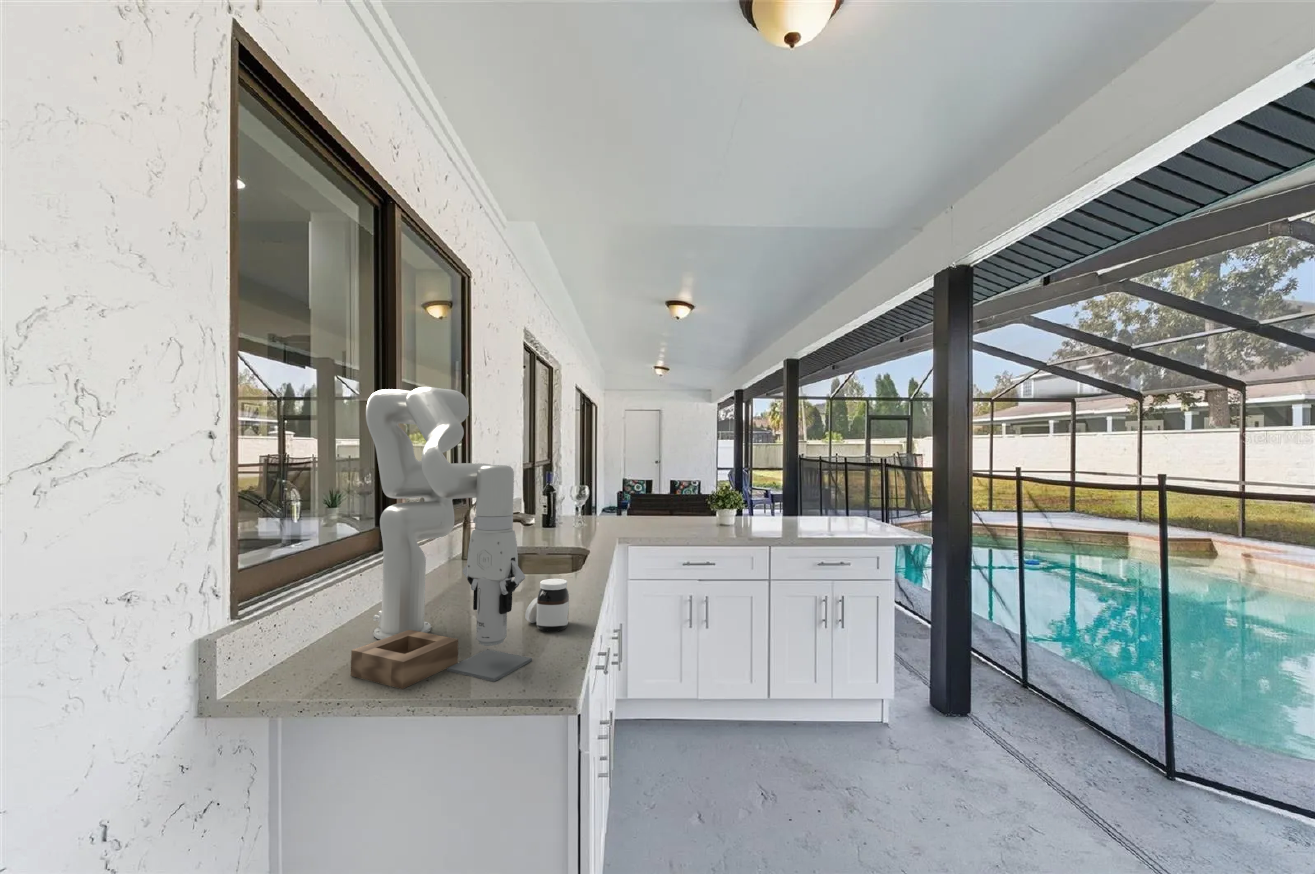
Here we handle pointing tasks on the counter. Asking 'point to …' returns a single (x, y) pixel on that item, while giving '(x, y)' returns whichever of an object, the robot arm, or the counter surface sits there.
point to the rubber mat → (489, 665)
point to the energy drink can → (490, 614)
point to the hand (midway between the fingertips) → (492, 609)
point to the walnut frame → (404, 658)
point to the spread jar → (550, 606)
